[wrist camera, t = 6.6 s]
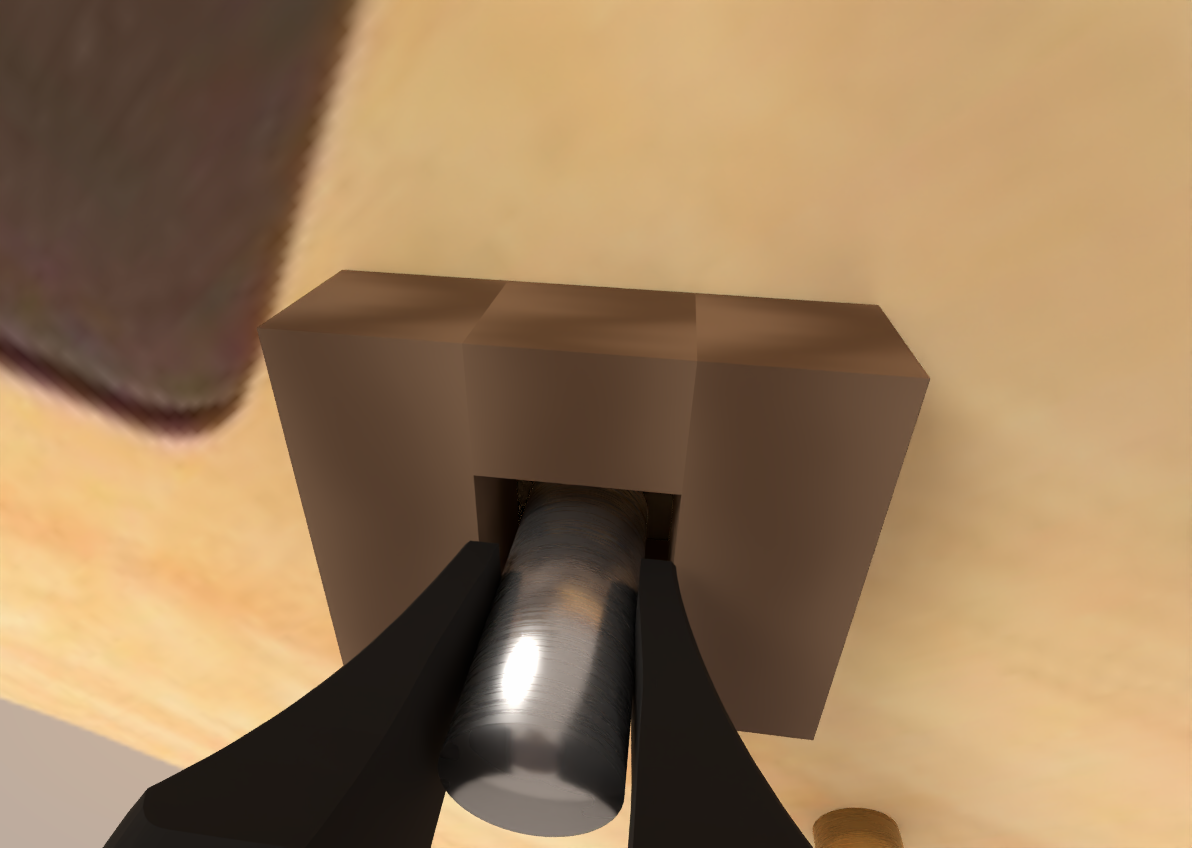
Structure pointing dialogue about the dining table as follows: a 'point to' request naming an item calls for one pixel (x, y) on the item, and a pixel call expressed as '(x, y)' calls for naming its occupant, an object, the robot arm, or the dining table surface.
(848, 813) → the brass pin
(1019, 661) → the dining table surface
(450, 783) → the steel pin
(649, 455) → the walnut block
